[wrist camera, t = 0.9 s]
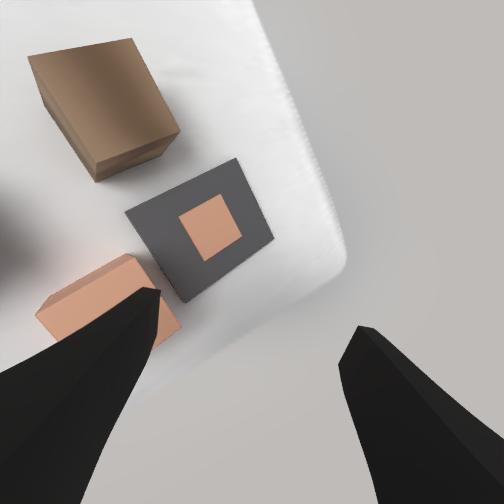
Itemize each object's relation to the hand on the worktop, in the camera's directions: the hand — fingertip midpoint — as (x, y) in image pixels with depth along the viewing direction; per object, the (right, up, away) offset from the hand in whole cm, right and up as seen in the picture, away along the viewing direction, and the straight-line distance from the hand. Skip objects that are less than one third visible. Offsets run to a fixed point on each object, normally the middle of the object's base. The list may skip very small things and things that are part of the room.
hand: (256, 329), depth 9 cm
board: (-4, +5, +12) cm, 14 cm away
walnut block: (-10, +11, +8) cm, 17 cm away
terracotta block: (-10, -1, +9) cm, 13 cm away
